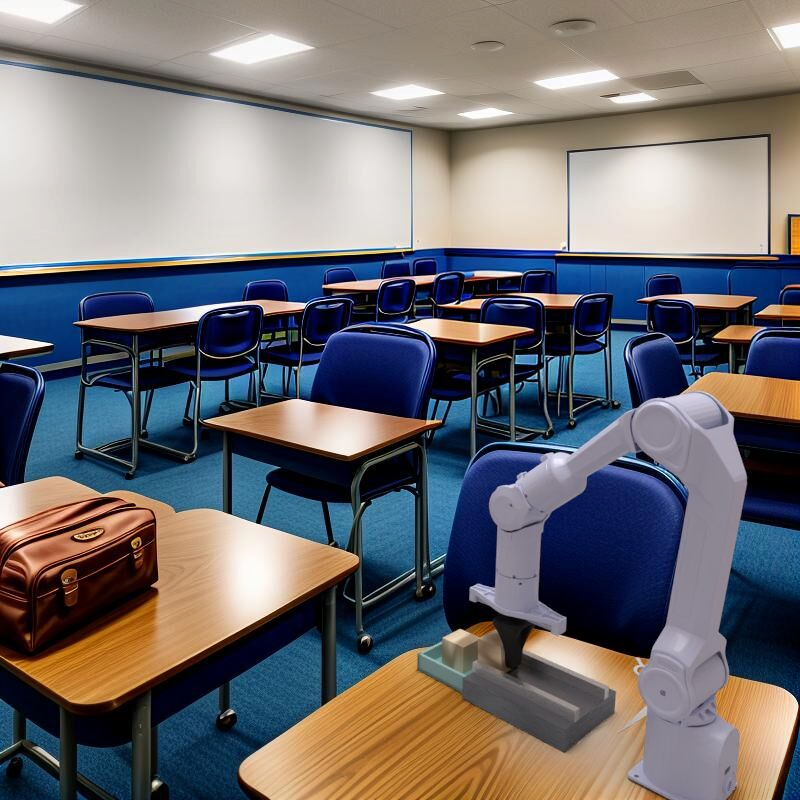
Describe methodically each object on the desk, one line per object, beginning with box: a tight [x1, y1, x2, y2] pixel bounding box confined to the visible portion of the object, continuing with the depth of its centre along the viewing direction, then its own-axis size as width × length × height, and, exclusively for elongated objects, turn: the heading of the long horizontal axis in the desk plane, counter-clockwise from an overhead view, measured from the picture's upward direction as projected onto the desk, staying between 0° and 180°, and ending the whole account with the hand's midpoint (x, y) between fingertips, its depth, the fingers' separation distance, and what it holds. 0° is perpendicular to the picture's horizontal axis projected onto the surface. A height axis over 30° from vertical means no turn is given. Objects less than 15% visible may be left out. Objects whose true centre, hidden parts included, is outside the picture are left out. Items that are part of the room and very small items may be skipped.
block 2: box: [478, 628, 511, 673], centre depth 103 cm, size 4×4×4 cm
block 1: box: [441, 628, 481, 674], centre depth 108 cm, size 4×4×4 cm
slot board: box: [461, 648, 617, 753], centre depth 98 cm, size 16×12×4 cm
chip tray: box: [416, 641, 472, 694], centre depth 107 cm, size 9×10×2 cm
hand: (513, 665), depth 101 cm, fingers closed
